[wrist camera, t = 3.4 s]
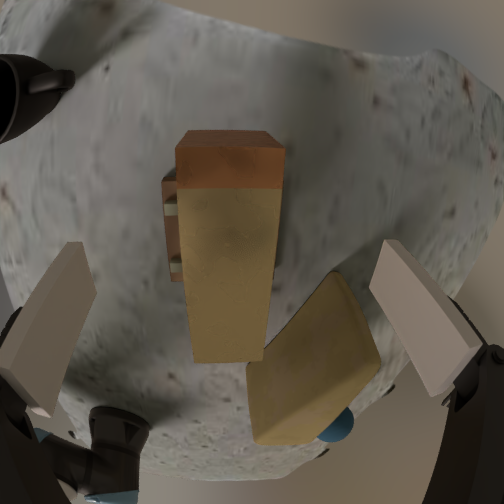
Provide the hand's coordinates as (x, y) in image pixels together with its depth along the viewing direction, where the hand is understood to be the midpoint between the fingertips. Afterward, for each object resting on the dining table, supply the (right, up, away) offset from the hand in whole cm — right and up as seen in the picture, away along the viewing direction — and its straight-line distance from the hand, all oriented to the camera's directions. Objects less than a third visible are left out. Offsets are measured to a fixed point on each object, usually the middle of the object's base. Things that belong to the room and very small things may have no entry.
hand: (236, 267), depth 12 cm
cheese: (+7, -11, +30) cm, 33 cm away
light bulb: (+15, -28, +42) cm, 52 cm away
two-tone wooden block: (-2, +4, +12) cm, 13 cm away
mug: (-20, +18, +9) cm, 28 cm away
